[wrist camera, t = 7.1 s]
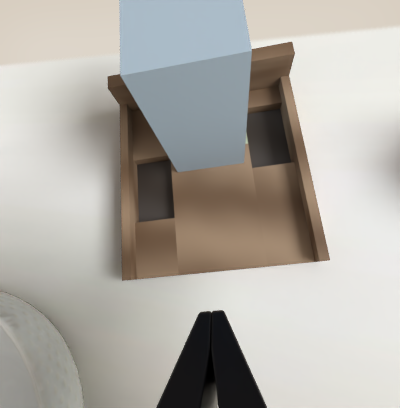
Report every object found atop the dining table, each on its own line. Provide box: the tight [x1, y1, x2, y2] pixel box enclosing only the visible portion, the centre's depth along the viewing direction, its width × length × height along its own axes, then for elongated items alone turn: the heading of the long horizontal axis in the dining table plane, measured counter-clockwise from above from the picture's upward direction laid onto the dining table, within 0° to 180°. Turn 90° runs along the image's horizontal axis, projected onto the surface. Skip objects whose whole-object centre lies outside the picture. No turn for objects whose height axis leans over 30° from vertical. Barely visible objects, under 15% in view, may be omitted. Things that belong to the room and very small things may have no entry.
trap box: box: [108, 42, 330, 281], centre depth 18 cm, size 14×13×4 cm
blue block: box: [119, 0, 252, 172], centre depth 15 cm, size 6×5×10 cm
